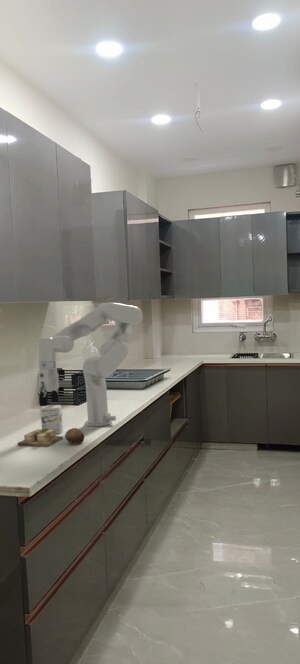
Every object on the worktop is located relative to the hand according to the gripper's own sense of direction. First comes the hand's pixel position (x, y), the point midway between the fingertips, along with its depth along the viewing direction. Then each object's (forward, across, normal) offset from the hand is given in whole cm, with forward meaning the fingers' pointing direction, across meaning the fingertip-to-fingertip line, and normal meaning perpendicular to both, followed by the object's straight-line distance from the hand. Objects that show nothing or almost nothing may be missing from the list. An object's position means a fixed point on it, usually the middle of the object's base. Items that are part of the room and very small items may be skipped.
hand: (49, 403), depth 224 cm
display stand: (+13, -14, -4) cm, 20 cm away
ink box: (+13, +1, -1) cm, 13 cm away
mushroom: (+13, -14, -20) cm, 28 cm away
